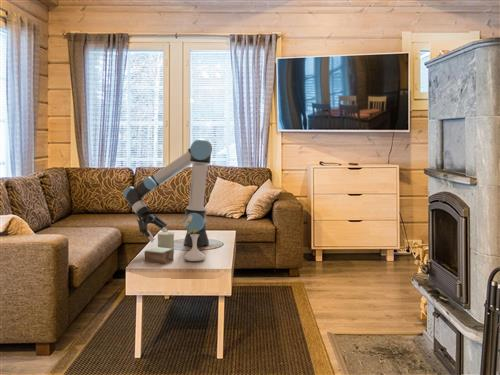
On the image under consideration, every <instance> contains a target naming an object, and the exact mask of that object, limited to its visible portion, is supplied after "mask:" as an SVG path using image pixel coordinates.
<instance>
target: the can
mask: <svg viewBox="0 0 500 375" xmlns="http://www.w3.org/2000/svg"><path fill="white" fill-rule="evenodd" d="M174 240H175V232H173V231H172V232H171V231H168V232H163V231H161V232H158V233H157V247H161V248H171V249H174V250H175V247H174V246H175V245H174V244H175V241H174Z"/></svg>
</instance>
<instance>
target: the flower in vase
mask: <svg viewBox="0 0 500 375" xmlns="http://www.w3.org/2000/svg"><path fill="white" fill-rule="evenodd" d="M191 220H192V215H189V216H188V218H187V219H186V220H185V222H184V221H183V223H182V227H183V228H185V227H186V226H187V225H189V223H190V222H191ZM190 225H191V223H190ZM191 227H192V225H191ZM192 231H193V233H195V232H197V227H196V228H195V229H193V228H192V230H190V231H189V232H188V234H190V233H191V232H192ZM190 236H191V238H192V242H193V246H191V247H192V248H191V249H190V250H188V252H187V253H186V254H185V255H184V256H183V259H184V260H185V261H188V262H200V261H203V260H205V259H206V256H205V254H204V253H203V252H201V251H200V250H199V248H198V246H197V239H198V237H199V234H191V235H190Z"/></svg>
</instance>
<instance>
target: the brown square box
mask: <svg viewBox="0 0 500 375" xmlns="http://www.w3.org/2000/svg"><path fill="white" fill-rule="evenodd" d="M143 253H144V255H143V257H144V262H143V263H145V264H146V263H148V264H155V265H165V264H168V263H169V262H172V261H174V257H175V256H174V255H175V248H174V249H171V248H161V247H158V246H155V247H152V248H149V249H147V250H146V249H145V251H144V252H143Z"/></svg>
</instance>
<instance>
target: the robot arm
mask: <svg viewBox="0 0 500 375" xmlns="http://www.w3.org/2000/svg"><path fill="white" fill-rule="evenodd" d="M190 145H191V146H190V148H188V149H187V151H186V152H185V153H184V154H182V155H181V156H179V157H178V158H176V159H175V160H173V161H172V162H170V163H169V164H167V165H166V166H164V167H163V168H161V169H160V170H159V171H156V173H154V174H153V175H151V176H147V177H146V178H144V179H143V180H142V181H141V182H140V183H138V184H137V185H136V186H128V187H126V188H125V189H124V190H123V192H122V195H123V197H124V199H125V201H127V203H128V205H129V206H130V208H132V210H133V211H134V213H135V214H136V216H137V219H136V221H137V223H138V228H139V232H140V233H141V234H143V235H145V236H146V237H147V238H148V239H149V241H150V243H153V242H154V241H155V237H154V236H153V234H152V233H151V232H150V230H149V229H148V224H152V225H155V226H156V227H158V228H160V229H161V232H169V230H168V229H167V225H168V224H167V223H166V222H165V221H163V220H162V219H161V218H160V217H158V216H157V214H155V213H153V214H151V211H150V208H149V207H148V206H147V204H146V203H145V201H144V199H142V198H145V196H147V195H148V194H149V193H150V192H152V191H154V190H155V189H157V188H158V187H159V186H161V185H163V184H164V183H166V182H167V181H168V180H170V179H171V178H173V177H174V176H176V175H178V174H179V173H181V172H182V171H184V170H185V169H187V168H188V167H190V166H191V165H192V167H191V176H190V187H189V200H188V205H187V206H186V208H185V214H184V215H185V216H184V219H183V223H184V222H185V220H186V219H187V218H188V216H189V215H192V220H191V222H190V223H191V225H192V227H191V225H190V223H189V225H187V226H186V227H184V228H185V230H187V231H186V234H185V237H184V240H183V243H184V244H185V245H184V244H183V245H184V246H187V245H188V246H187V247H193V242H192V238H191V236H190V235H191V234H199V237H198V239H197V247H205V246H204V245H206V246H208V245H209V244H210V243H209V242H210V240H209V237H208V234H207V208H206V207H205V205H204V204H205V192H206V182H207V175H208V174H207V173H208V171H207V170H208V166H209V165H210V164H211V155H212V153H213V146H212V143H210V141H209V140H207V139H204V138H198V139H196V140H194V141H193V142H192V143H191V144H190ZM196 227H197V232H195V233H193V231H192V232H191V233H190V234H188V232H189V231H190V230H192V228H193V229H195V228H196Z"/></svg>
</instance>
